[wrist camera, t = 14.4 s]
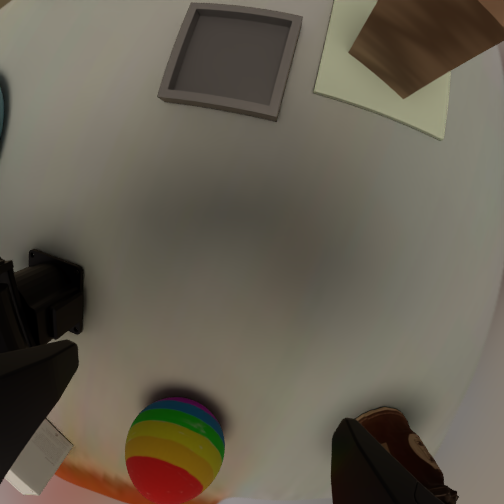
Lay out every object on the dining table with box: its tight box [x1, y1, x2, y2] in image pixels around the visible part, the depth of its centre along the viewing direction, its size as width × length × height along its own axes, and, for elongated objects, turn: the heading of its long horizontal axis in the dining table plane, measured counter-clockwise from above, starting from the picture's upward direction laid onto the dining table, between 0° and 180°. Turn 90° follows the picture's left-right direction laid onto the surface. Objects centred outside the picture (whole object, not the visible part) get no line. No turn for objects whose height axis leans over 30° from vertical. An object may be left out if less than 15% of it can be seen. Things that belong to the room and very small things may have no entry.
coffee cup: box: [356, 407, 459, 504], centre depth 17 cm, size 9×8×13 cm
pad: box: [313, 0, 451, 141], centre depth 16 cm, size 10×10×1 cm
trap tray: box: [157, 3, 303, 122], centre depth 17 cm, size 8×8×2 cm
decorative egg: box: [125, 397, 225, 504], centre depth 20 cm, size 8×8×10 cm
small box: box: [4, 419, 73, 495], centre depth 23 cm, size 8×6×10 cm
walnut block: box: [348, 0, 504, 99], centre depth 10 cm, size 5×5×12 cm
